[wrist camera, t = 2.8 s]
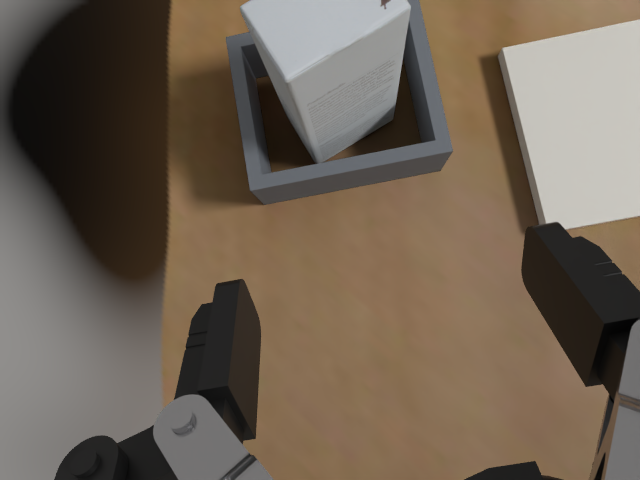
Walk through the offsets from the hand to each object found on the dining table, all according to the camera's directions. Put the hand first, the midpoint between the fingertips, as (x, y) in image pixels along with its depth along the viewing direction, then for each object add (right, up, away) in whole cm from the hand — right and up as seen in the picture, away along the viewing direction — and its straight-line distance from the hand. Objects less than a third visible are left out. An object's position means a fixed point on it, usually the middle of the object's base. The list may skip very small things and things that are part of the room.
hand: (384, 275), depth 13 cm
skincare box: (-1, +9, +17) cm, 20 cm away
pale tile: (+17, +8, +16) cm, 24 cm away
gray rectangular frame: (-1, +9, +17) cm, 19 cm away
